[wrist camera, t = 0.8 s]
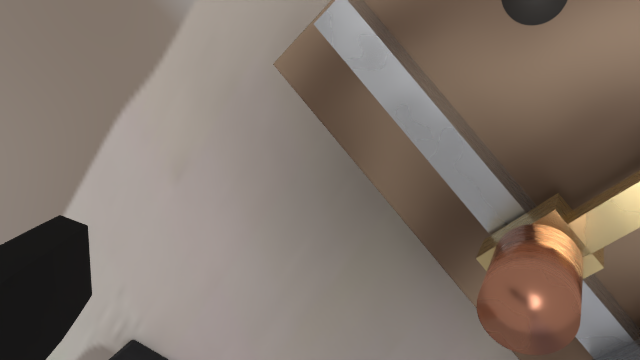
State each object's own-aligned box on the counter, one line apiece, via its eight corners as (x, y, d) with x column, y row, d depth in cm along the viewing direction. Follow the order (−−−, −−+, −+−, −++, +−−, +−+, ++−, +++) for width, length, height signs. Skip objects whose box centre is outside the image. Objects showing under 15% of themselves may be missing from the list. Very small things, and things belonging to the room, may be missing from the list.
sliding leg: (715, 174, 19) (761, 256, 13) (533, 276, 23) (512, 371, 17) (659, 109, 19) (683, 164, 14) (486, 220, 23) (451, 299, 17)
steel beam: (713, 415, 22) (720, 443, 20) (672, 429, 22) (676, 457, 21) (356, -8, 22) (341, -7, 21) (329, 20, 23) (313, 23, 22)
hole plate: (969, 310, 19) (996, 336, 17) (606, 439, 25) (606, 464, 24) (530, -200, 19) (524, -212, 18) (289, 59, 26) (272, 64, 25)
